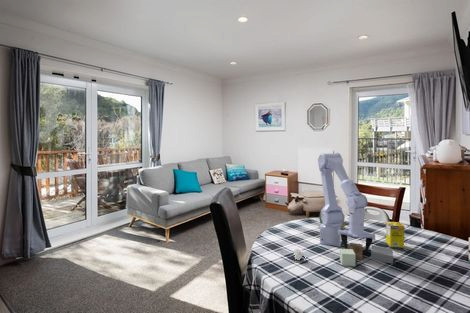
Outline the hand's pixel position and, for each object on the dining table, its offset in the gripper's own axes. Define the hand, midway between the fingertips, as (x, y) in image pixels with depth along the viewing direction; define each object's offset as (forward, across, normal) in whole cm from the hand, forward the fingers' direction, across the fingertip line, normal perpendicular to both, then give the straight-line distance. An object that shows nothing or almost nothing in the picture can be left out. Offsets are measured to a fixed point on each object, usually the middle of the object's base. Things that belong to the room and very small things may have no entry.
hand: (356, 253), depth 117 cm
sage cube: (+2, -3, -8) cm, 9 cm away
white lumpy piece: (+2, -20, -11) cm, 23 cm away
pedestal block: (+2, +10, +3) cm, 11 cm away
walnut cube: (+2, 0, 0) cm, 2 cm away
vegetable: (+2, -14, +35) cm, 38 cm away
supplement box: (+2, +16, +19) cm, 25 cm away
